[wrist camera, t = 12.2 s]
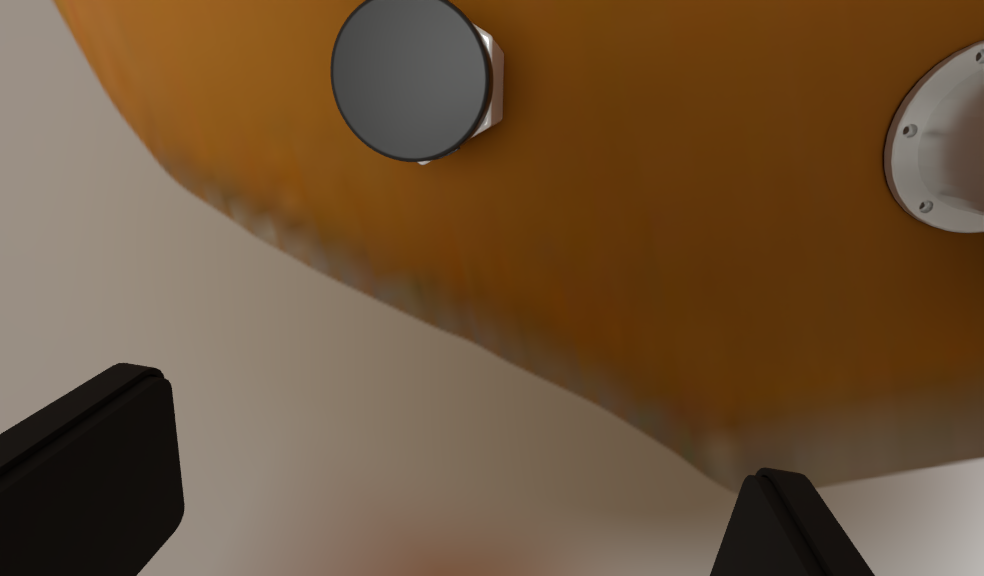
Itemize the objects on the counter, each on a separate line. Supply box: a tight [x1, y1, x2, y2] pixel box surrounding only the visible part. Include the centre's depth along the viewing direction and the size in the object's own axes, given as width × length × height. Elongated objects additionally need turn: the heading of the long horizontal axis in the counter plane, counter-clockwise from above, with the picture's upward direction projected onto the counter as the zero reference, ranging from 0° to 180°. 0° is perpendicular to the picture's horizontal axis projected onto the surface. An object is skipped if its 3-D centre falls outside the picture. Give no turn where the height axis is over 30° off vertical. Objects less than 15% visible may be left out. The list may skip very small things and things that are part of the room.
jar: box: [331, 0, 504, 165], centre depth 32 cm, size 9×8×12 cm
